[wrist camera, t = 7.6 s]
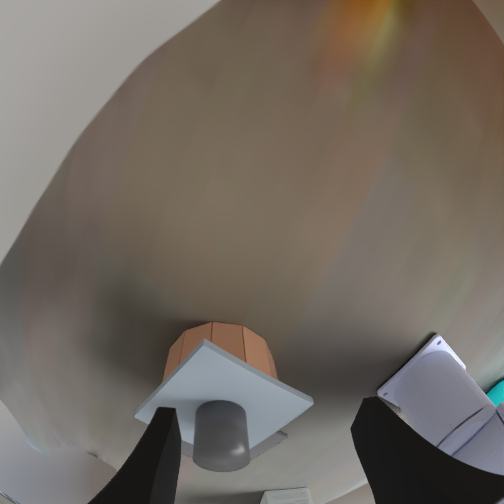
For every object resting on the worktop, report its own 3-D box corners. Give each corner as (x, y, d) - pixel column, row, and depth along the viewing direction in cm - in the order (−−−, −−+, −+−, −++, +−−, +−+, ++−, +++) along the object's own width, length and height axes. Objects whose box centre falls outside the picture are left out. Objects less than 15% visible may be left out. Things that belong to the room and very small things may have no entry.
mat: (287, 434, 25) (287, 437, 25) (231, 468, 27) (231, 471, 27) (211, 402, 23) (211, 405, 22) (161, 442, 25) (161, 444, 24)
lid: (312, 397, 18) (327, 445, 14) (232, 453, 19) (235, 496, 15) (204, 338, 15) (199, 393, 11) (135, 410, 17) (123, 457, 13)
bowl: (292, 356, 22) (305, 398, 17) (230, 409, 23) (231, 450, 19) (208, 303, 20) (205, 343, 15) (151, 368, 21) (140, 410, 17)
